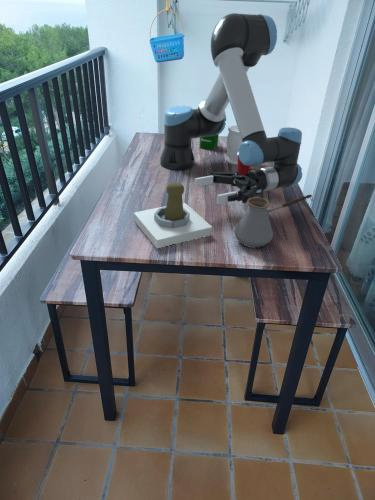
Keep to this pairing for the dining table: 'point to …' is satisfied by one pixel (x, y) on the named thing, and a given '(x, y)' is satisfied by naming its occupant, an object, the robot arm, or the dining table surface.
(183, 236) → the base plate
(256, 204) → the coffee pot
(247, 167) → the paper cup
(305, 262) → the dining table surface
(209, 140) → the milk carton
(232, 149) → the jar
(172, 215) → the cork
